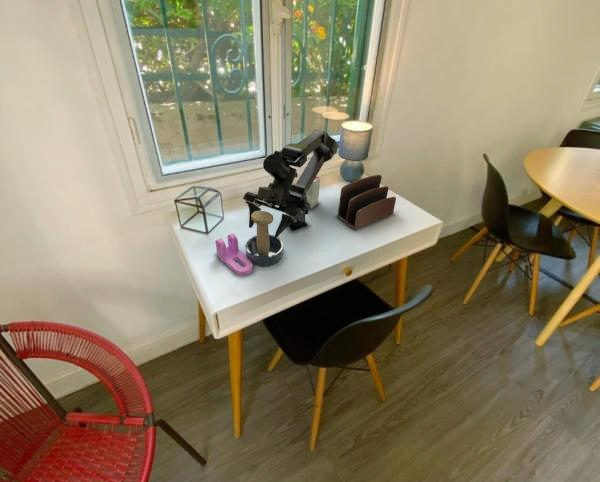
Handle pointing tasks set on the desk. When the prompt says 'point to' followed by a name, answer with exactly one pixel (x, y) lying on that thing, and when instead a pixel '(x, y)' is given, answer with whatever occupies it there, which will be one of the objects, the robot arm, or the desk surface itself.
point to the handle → (262, 231)
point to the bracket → (233, 255)
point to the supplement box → (313, 193)
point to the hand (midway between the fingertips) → (262, 232)
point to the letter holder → (365, 202)
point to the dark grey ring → (265, 261)
